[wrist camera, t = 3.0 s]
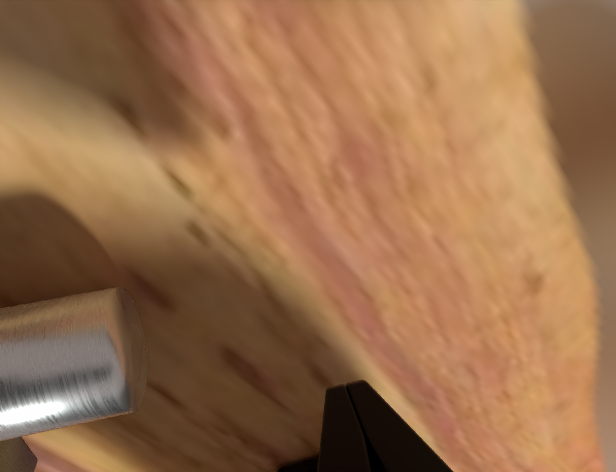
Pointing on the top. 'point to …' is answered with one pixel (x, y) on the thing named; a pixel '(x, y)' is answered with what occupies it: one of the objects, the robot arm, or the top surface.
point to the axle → (70, 361)
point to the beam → (16, 456)
